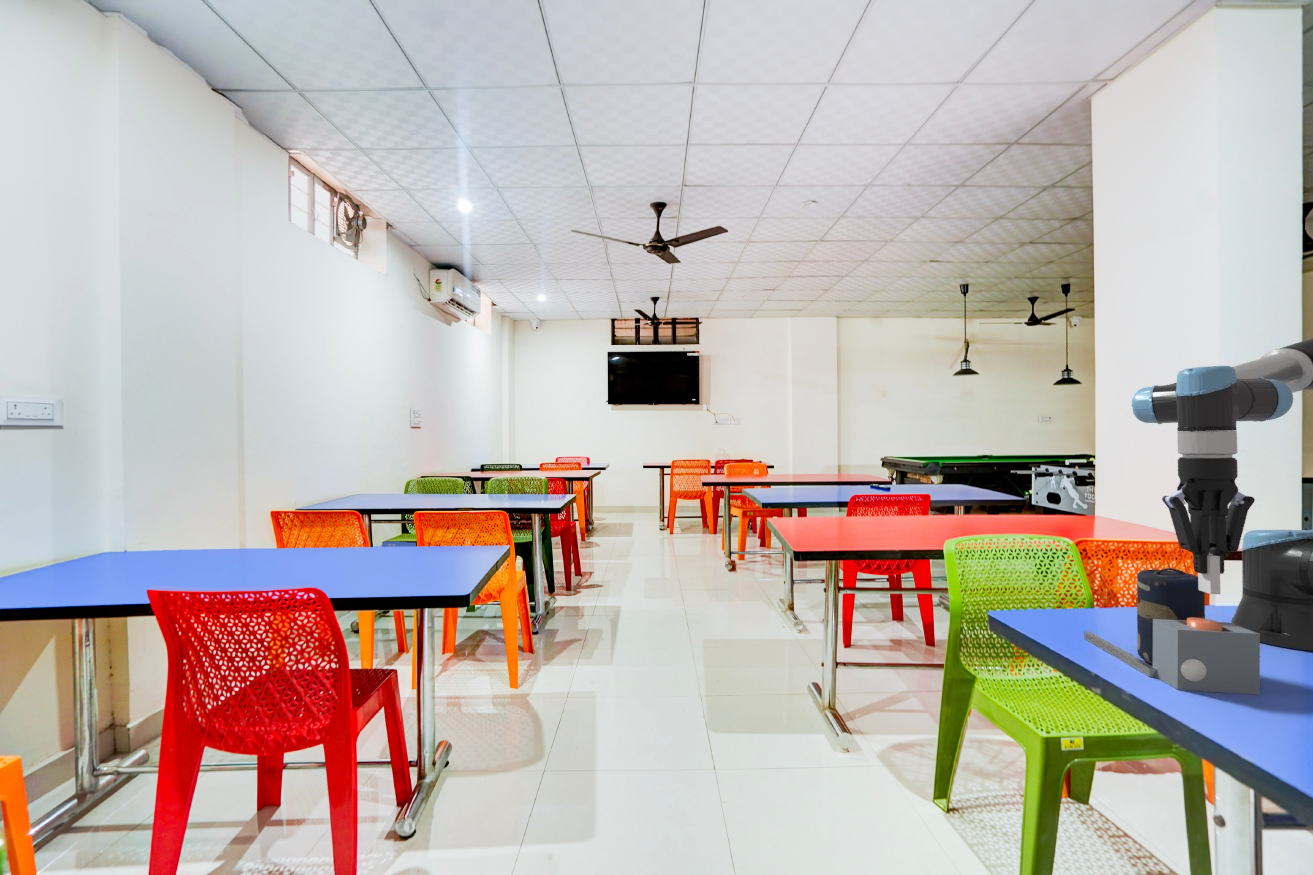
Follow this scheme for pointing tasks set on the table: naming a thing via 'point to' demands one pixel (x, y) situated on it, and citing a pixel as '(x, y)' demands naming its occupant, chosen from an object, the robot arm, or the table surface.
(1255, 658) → the end cabinet
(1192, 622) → the button
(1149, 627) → the canister
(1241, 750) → the table surface
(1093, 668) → the table surface
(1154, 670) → the rail track
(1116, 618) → the table surface
